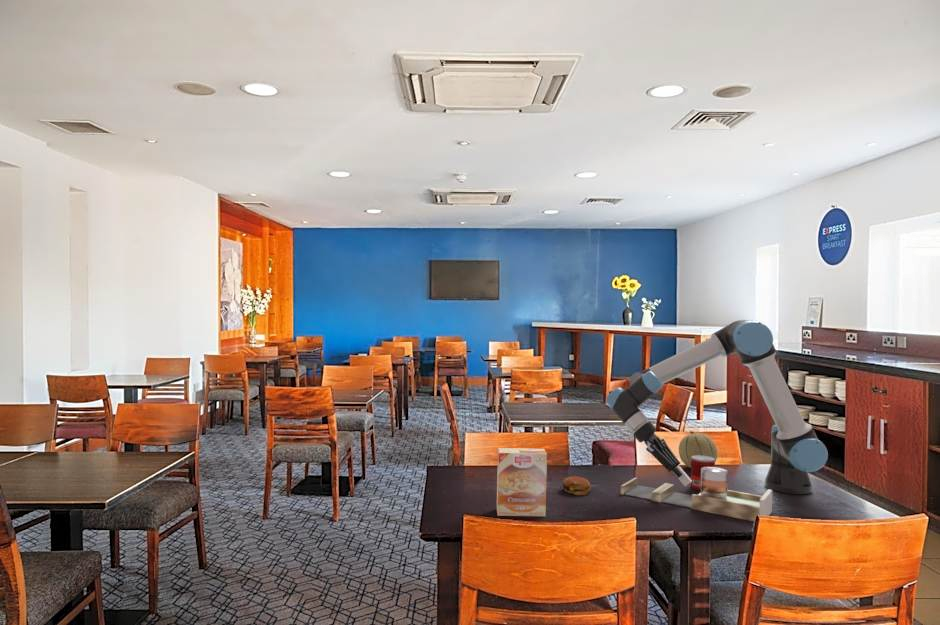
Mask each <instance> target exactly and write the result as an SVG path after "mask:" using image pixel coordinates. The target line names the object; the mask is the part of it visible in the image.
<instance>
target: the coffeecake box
mask: <svg viewBox="0 0 940 625" xmlns="http://www.w3.org/2000/svg"><path fill="white" fill-rule="evenodd" d="M547 464H548V453H547V451H546V449H545V448H527V447H526V448H524V447H523V448H522V447H520V448H519V447H517V448H514V447H498V448H497V468H496V469H497V472H496V474H497V475H496V477H497V478H496V514H497V517H500V516H501V517H502V516H503V517H507V516H508V517H546V515H547V514H546V513H547V475H548V474H547V470H548V465H547Z"/></svg>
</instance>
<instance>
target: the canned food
mask: <svg viewBox="0 0 940 625" xmlns="http://www.w3.org/2000/svg"><path fill="white" fill-rule="evenodd" d="M702 467H716V462H715V459H714V458H712V457H709V456H702V455H695V456H692V457H691V468H690V479H691V480H692V482H690V487H691V488H692V489H693V490H696V491H700V492H701V468H702Z"/></svg>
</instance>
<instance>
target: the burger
mask: <svg viewBox="0 0 940 625" xmlns="http://www.w3.org/2000/svg"><path fill="white" fill-rule="evenodd" d="M562 488H563V489H564V491H565V492H566V493H568V494H572V495H575V496H586V495H588V494H589V493H590V492H591V490H592V486H591V483H590V481H589V480H588V479H587V478H584V477H581V476H568V477H565V478H564V479H563V480H562Z"/></svg>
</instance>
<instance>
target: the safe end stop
mask: <svg viewBox="0 0 940 625" xmlns="http://www.w3.org/2000/svg"><path fill="white" fill-rule="evenodd" d="M761 496H762V497H761V499H760V501H756V500H751V499H745V498H740V497H734V496H730V497H729V498H728V499H727V500H728V501H733V502H738V503H744V504H749V505H754V506H760V511H759V515H768V516H770V515H771V514H772V512H773V490H771V489H769V488H767V490H766V491H765V493H764V494H763V495H761Z"/></svg>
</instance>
